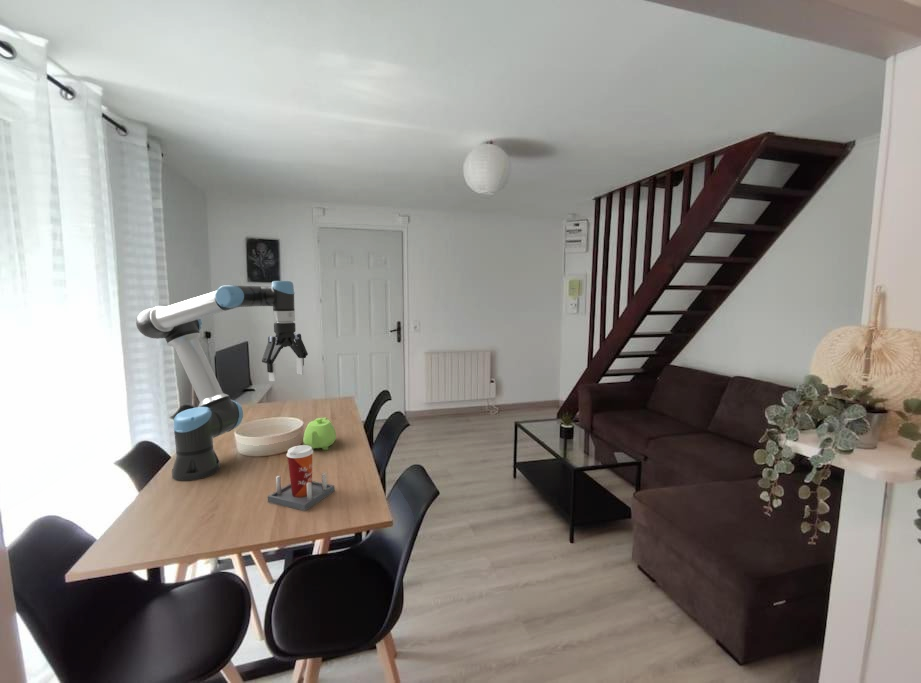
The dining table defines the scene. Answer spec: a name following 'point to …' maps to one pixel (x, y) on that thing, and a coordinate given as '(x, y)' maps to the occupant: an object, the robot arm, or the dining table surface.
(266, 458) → the dining table surface
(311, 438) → the teapot
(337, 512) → the dining table surface
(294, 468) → the coffee cup
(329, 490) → the tray
